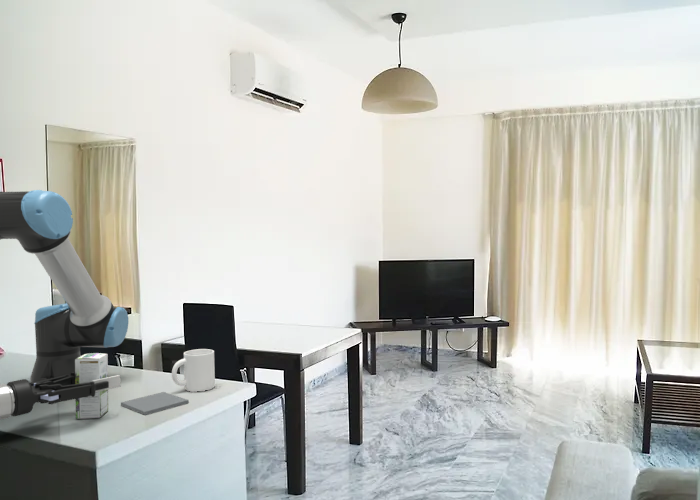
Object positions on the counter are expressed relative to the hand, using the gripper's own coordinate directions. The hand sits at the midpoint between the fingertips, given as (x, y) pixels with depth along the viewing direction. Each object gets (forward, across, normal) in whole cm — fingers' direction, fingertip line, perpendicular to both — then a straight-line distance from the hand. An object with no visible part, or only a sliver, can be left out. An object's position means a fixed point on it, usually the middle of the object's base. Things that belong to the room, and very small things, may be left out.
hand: (111, 377), depth 138 cm
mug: (+23, 0, +8) cm, 25 cm away
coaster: (+9, -4, +8) cm, 13 cm away
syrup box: (-5, 0, +8) cm, 10 cm away
